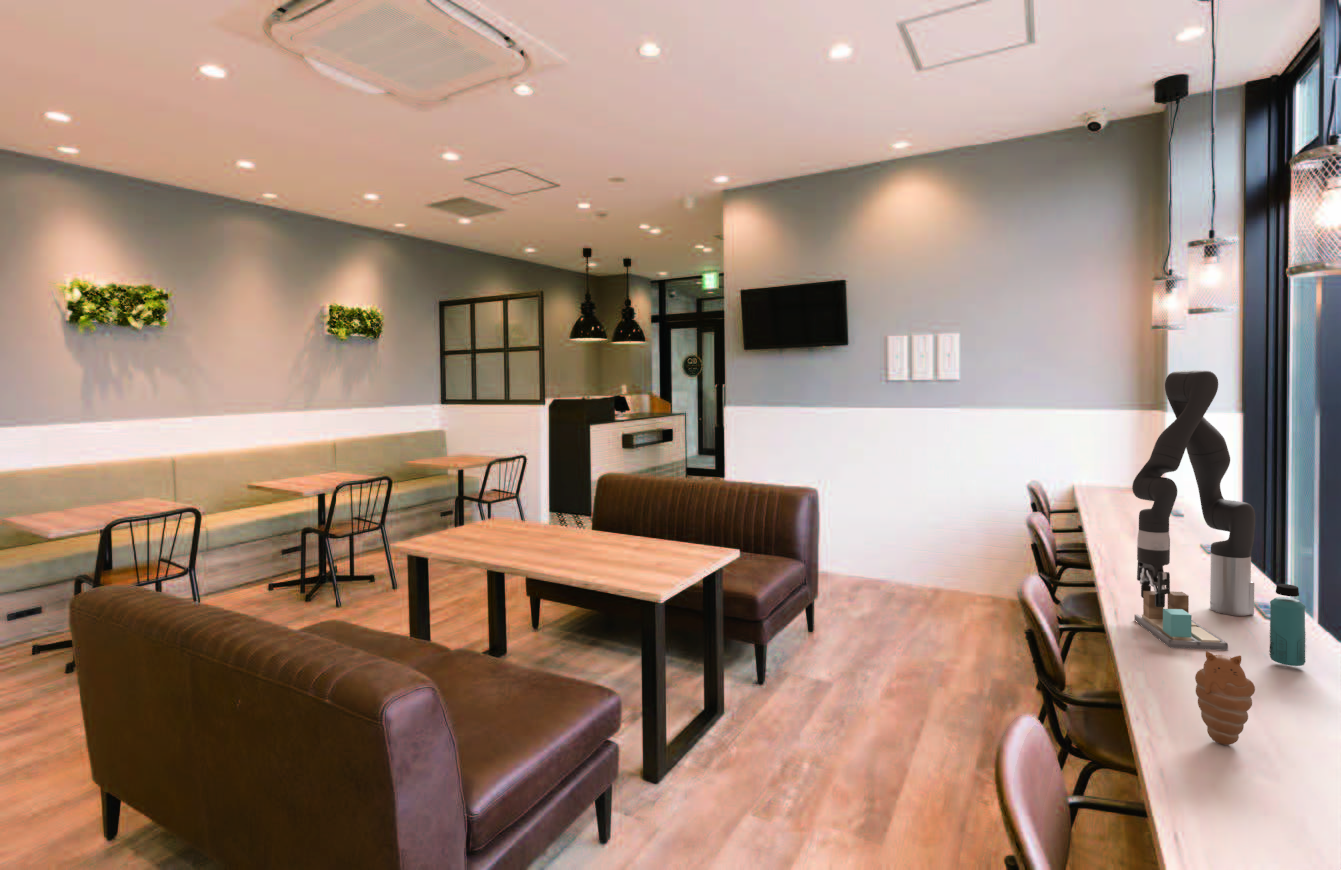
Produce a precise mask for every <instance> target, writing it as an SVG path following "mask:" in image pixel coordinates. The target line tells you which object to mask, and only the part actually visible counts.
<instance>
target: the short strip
mask: <svg viewBox="0 0 1341 870" xmlns="http://www.w3.org/2000/svg"><path fill="white" fill-rule="evenodd" d="M1189 600H1190V599H1189V595H1188V594H1186V593H1185V592H1183V591H1170V594H1167V609H1183V610H1184V611H1186V612H1187V613H1189V610H1190V608H1189V607H1190V606H1189ZM1189 614H1190V613H1189ZM1191 627H1197V625H1196V624H1194V623H1193V622H1191Z"/></svg>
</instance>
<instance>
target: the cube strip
mask: <svg viewBox="0 0 1341 870" xmlns="http://www.w3.org/2000/svg"><path fill="white" fill-rule="evenodd" d="M1142 599H1143V601H1142V602H1143V605H1142V607H1143V608H1142V609H1143V612H1142V614H1141V617H1142V618H1143V619H1145V620H1146V621H1147V622H1149V623H1150V624H1151V625H1153V626H1154V627H1155V628H1157V629H1158V630H1159V631H1161V632H1162V633H1163V634H1165V635H1166V636H1167V637H1169V638H1170V639H1171V640H1184V641H1192V638H1190V637H1171V636H1170V635H1168V634H1167V633H1166V632H1164V631H1163V609H1165V607H1156V606H1155V591H1154V590H1151V591H1143V598H1142Z"/></svg>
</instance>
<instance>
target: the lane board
mask: <svg viewBox="0 0 1341 870" xmlns="http://www.w3.org/2000/svg"><path fill="white" fill-rule="evenodd" d="M1135 620H1136V621H1137V622H1138V623H1137V622H1136V621H1135ZM1134 621H1135V622H1136V623H1137V624H1139V623H1140V624H1141V625H1142V626H1143V627H1142V626H1141V625H1140V624H1139V625H1140V626H1141V627H1142V628H1143V629H1145V628H1146V629H1147V630H1146V629H1145V630H1146V631H1147V632H1149V631H1150V632H1151V633H1152V634H1151V633H1150V632H1149V633H1150V634H1151V635H1153V636H1154V635H1155V636H1156V637H1155V636H1154V637H1155V638H1156V639H1158V640H1159V639H1160V640H1161V641H1160V640H1159V641H1160V642H1162V643H1163V644H1164V643H1165V644H1164V645H1165V646H1167V647H1168V648H1169V647H1170V648H1171V649H1188V648H1189V649H1191V650H1192V649H1194V650H1195V649H1196V650H1216V651H1228V649H1229V644H1228V642H1227V641H1225V640H1223V639H1222V638H1220V637H1219V636H1217V635H1216V634H1214V633H1213V632H1211V631H1210V630H1208V629H1207V628H1205V627H1203V626H1201V625H1200V624H1199V623H1197V622H1196V621H1194V620H1193V619H1191V622H1193V623H1194V624H1196V625H1197V627H1191V637H1190V638H1192V641H1184V640H1171V639H1170V638H1169V637H1167V636H1166V635H1165V634H1163V633H1162V632H1161V631H1159V630H1158V629H1157V628H1155V627H1154V626H1153V625H1151V624H1150V623H1149V622H1147V621H1146V620H1145V619H1143V618H1142V616H1141V615H1139V614H1137V613H1135V614H1134Z"/></svg>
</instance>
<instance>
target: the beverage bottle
mask: <svg viewBox="0 0 1341 870" xmlns="http://www.w3.org/2000/svg"><path fill="white" fill-rule="evenodd" d="M1275 594H1278V595H1280V596H1278V597H1275V598H1273V599H1271V600H1270V601H1269V604H1270V606H1269V607H1270V609H1269V610H1270V616H1269V617H1270V618H1269V619H1268V621H1269V633H1268V634H1269V650H1268V652H1269V653H1268V655H1269V657H1270V659H1271V661H1273V662H1275V663H1277V664H1281V665H1285V666H1294V667H1301V666H1304V665H1305V664H1306V658H1307V657H1306V641H1307V638H1306V637H1307V632H1306V605H1305V604H1304V603H1303V602H1301V600H1299V599H1296V598H1292V597H1299V596H1300V590H1299V586H1296V585H1293V584H1287V583H1278V584H1276V587H1275Z"/></svg>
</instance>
